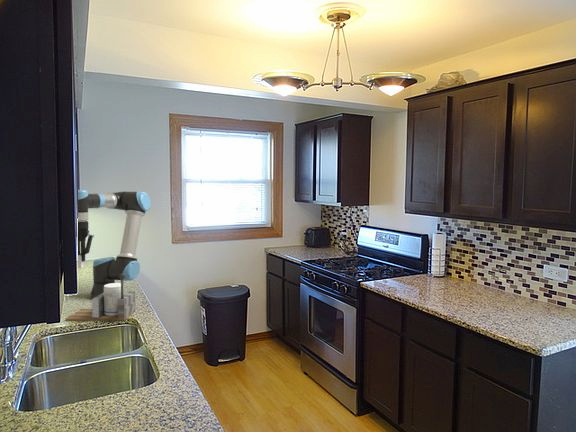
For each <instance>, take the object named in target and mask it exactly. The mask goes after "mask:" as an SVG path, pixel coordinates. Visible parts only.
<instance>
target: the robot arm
mask: <svg viewBox="0 0 576 432" xmlns="http://www.w3.org/2000/svg"><path fill="white" fill-rule="evenodd" d="M77 190H78V262H77V269H83V268H84V266H85V265H84V262H85V261H86V255H87V254H89V253H90V251H91V246H92V241H93V238H94V237H95V235H94V234H91V233H90V230H89V209H102V208H107V210H109V209H110V210H119V211H124V213H125V214H126V219H125V223H124V228H123V234H122V235H123V236H122V238H121V239H122V241H121V245H120V251H119V254H117V255H116V258H115V257H114V256H107V257H100V258H96V259H94V260H93V263H92V264H93V265H92V273H93V274H92V275H93V276H92V277H93V281H92V283H93V286H92V288H91V291H90V299H93V298H95V297H97V296H98V295H100V294H102V293H103V292H104V285H106V284H110V283H116V281H121V279H120V278H119V275H120V274H122V273H123V274H125V278H124V281H125V282H127V281H128V282H129V281H134V280H135V279H136V278H137V277H138V276H139V274H140V272H141V266H140V265H141V264H140V262H139V261H138V258H137V256H136V253H137V246H138V241H139V237H140V236H139V235H140V229H141V224H142V220H143V219H142V218H143V217H144V216H145V215H146V212H148V211H149V210H150V209H151V206H152V204H151V198H150V196H149V194H148V193H147V192H145V191H117V192H116V191H115V192H108V193H104V194H103V193H102V194H100V193H89V192H88V190H87V189H77Z"/></svg>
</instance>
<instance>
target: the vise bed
mask: <svg viewBox="0 0 576 432" xmlns="http://www.w3.org/2000/svg"><path fill="white" fill-rule="evenodd" d="M119 278H120V279H121V280H120V283H121V298H119V299H118V315H116V316H107V315H105V314H103V315H101V316H100V317H92V308H80V309H78V310H77V311H76V312H74V313H72V314H70V315H69V316H67V317H66V318H65V322H89V321H90V322H98V321H99V322H100V321H101V322H107V321H108V322H115V321H116V322H124V321H126V320H127V319H128V318H129V317H130V316H131V314H132V315H133V314H134V313H135V312H136V291H128V292H126V293H125V284H124V283H125V282H124V278H125V274H123V273H122V274H120V275H119Z"/></svg>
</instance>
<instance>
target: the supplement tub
mask: <svg viewBox="0 0 576 432" xmlns="http://www.w3.org/2000/svg"><path fill="white" fill-rule="evenodd" d="M119 298H121V282H115V283H110V284H106V285H104V314H105V315H107V316H116V315H118V299H119Z"/></svg>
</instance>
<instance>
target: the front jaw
mask: <svg viewBox="0 0 576 432" xmlns="http://www.w3.org/2000/svg"><path fill="white" fill-rule="evenodd" d="M91 301H92V302H91V304H92V305H91V309H92V317H100V316H101V315H103V314H104V292H103V293H102V294H100V295H98V296H97V297H95V298H93V299H92V300H91Z"/></svg>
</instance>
